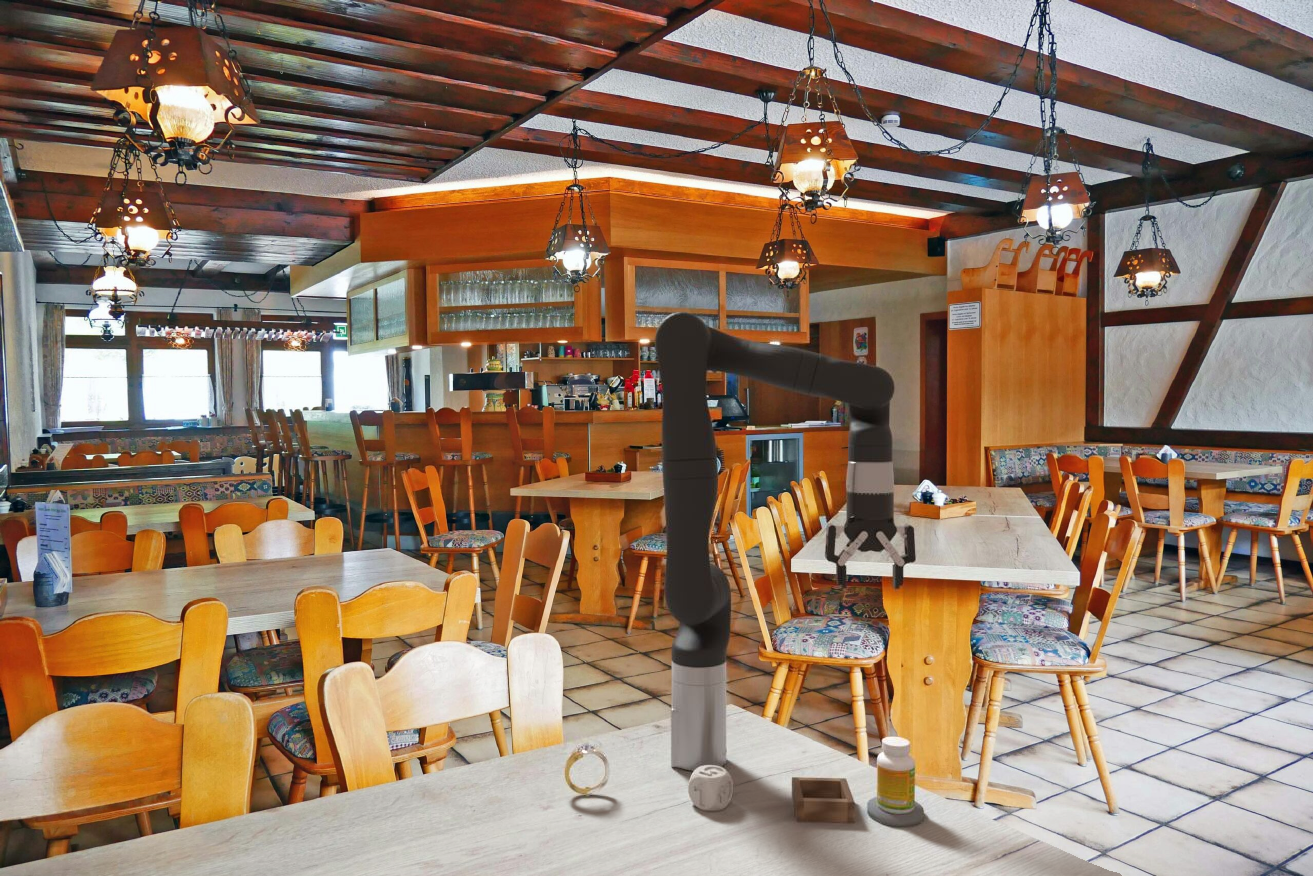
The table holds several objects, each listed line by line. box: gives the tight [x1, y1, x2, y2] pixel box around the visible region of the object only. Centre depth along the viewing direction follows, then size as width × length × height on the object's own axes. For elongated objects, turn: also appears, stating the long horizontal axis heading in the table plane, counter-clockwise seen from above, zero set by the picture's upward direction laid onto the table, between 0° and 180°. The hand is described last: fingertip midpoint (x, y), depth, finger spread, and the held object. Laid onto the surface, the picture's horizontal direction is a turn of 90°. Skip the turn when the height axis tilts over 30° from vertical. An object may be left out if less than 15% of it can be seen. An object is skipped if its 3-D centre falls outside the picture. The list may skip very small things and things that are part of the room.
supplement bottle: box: [876, 736, 916, 814], centre depth 129 cm, size 5×5×10 cm
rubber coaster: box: [866, 796, 925, 828], centre depth 129 cm, size 8×8×1 cm
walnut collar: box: [791, 776, 856, 824], centre depth 131 cm, size 8×8×3 cm
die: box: [687, 765, 734, 812], centre depth 133 cm, size 5×5×5 cm
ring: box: [564, 741, 611, 797], centre depth 136 cm, size 7×3×8 cm, turn 93°
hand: (869, 588), depth 144 cm, fingers open, 8 cm apart
